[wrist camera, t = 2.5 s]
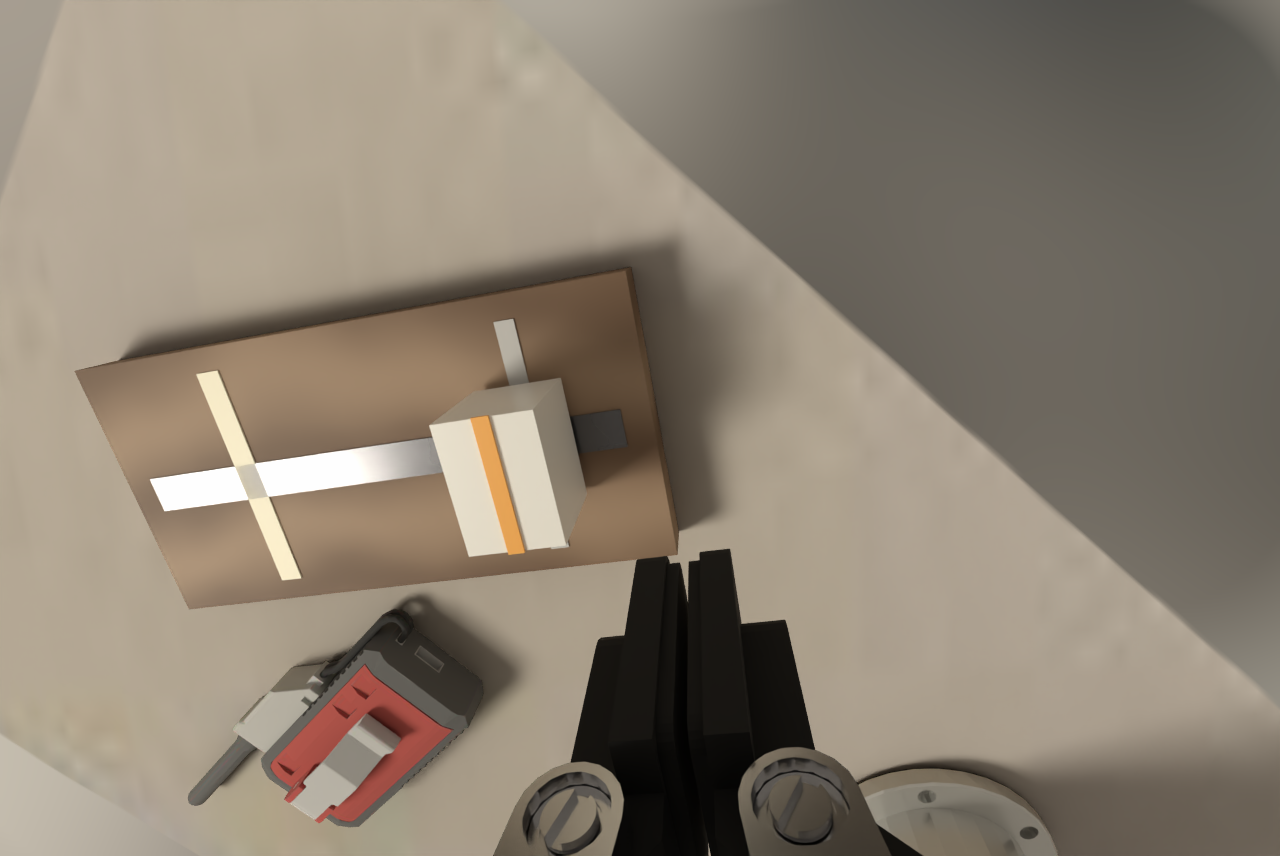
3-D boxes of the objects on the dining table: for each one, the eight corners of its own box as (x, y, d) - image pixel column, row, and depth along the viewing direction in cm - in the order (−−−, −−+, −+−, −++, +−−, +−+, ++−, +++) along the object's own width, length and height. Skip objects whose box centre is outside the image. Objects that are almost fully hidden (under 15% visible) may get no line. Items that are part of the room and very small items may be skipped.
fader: (587, 495, 25) (565, 548, 21) (505, 505, 25) (468, 559, 21) (560, 376, 23) (531, 408, 19) (473, 390, 24) (427, 424, 20)
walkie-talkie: (375, 567, 31) (197, 769, 36) (324, 622, 26) (132, 840, 32) (509, 671, 32) (315, 849, 38) (480, 739, 28) (268, 927, 34)
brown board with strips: (678, 532, 28) (677, 555, 26) (219, 585, 31) (188, 610, 29) (630, 267, 24) (625, 270, 22) (117, 360, 28) (72, 371, 26)
